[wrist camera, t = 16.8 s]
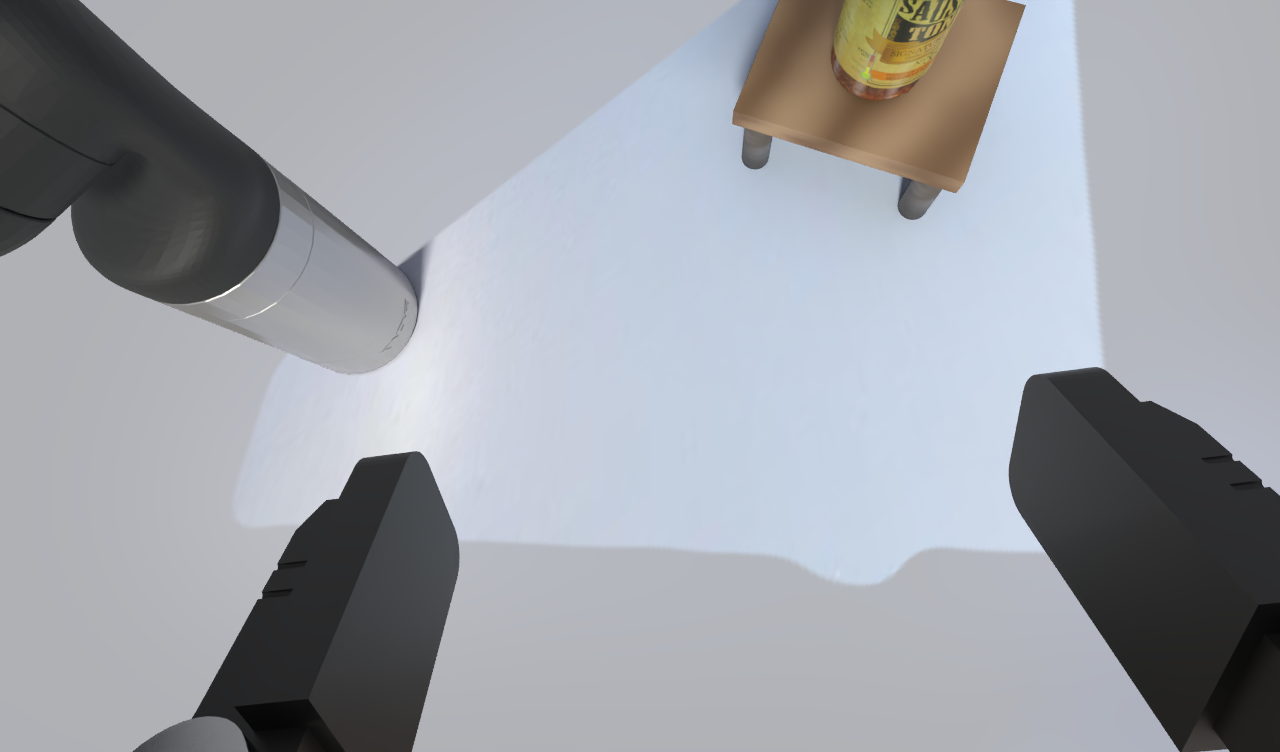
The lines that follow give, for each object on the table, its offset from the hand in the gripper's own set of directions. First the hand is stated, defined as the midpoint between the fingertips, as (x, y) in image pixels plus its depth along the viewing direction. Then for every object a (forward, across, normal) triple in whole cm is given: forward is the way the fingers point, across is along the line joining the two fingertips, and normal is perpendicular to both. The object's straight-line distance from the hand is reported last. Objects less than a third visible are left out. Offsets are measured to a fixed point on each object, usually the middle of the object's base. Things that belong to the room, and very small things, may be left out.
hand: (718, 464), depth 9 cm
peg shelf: (+46, -15, +8) cm, 49 cm away
